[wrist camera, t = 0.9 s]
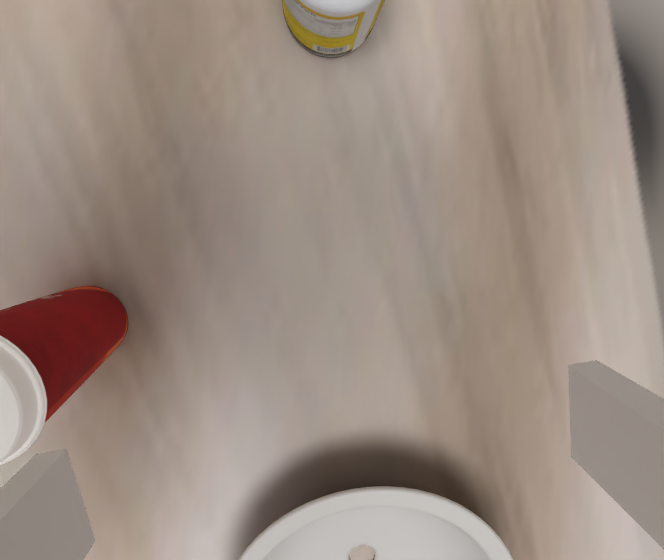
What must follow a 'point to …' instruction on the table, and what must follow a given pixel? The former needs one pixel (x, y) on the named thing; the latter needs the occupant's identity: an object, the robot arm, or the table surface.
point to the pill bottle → (331, 23)
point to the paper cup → (51, 357)
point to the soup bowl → (379, 529)
